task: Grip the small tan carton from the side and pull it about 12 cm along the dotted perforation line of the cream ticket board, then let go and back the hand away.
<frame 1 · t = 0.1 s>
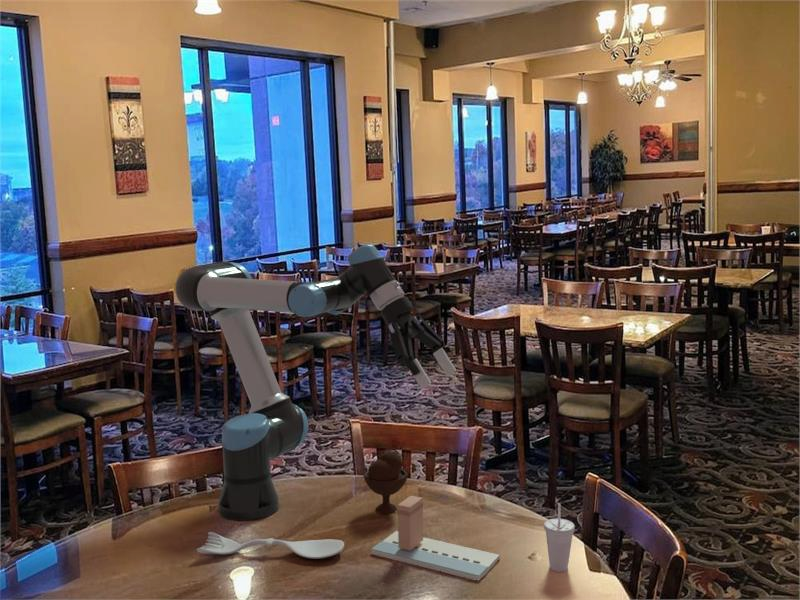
hand: (439, 379, 186), 36 cm above the table, tool tilted 35°, fingers open, 13 cm apart
ticket board: (434, 556, 174), on the table
small tan carton: (410, 522, 176), point 7 cm above the table, slide at 0.0 cm
spoon: (273, 555, 177), on the table
ice cream bowl: (386, 510, 200), on the table
smoothie: (558, 568, 169), on the table
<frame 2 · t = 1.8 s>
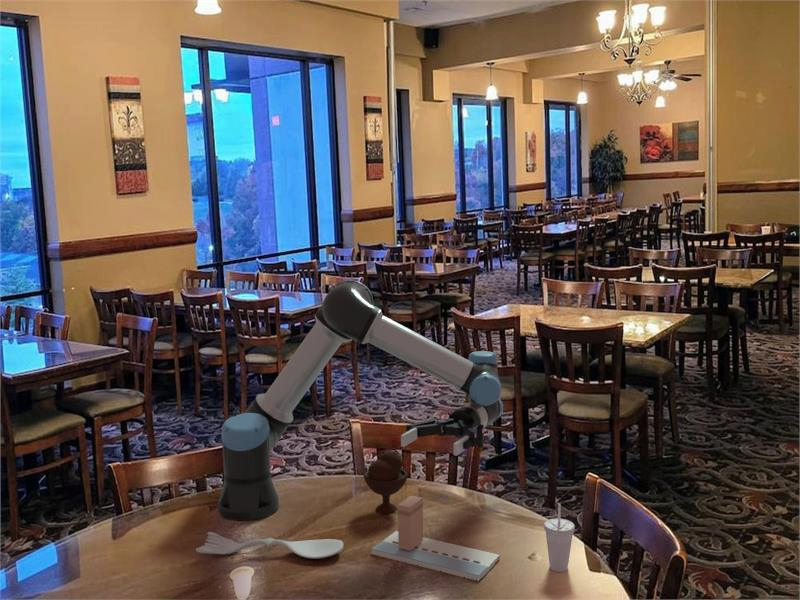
hand: (428, 445, 182), 22 cm above the table, tool horizontal, fingers open, 13 cm apart
nothing on the table moved.
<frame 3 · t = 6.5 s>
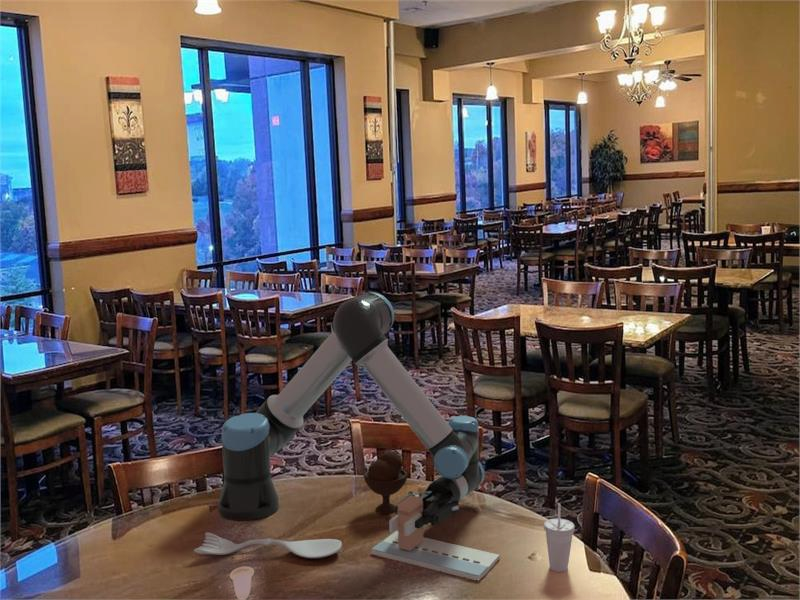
hand: (398, 528, 172), 7 cm above the table, tool horizontal, fingers closed on small tan carton, 3 cm apart
small tan carton: (410, 522, 176), point 7 cm above the table, slide at 0.0 cm, touching gripper
everything else where it was.
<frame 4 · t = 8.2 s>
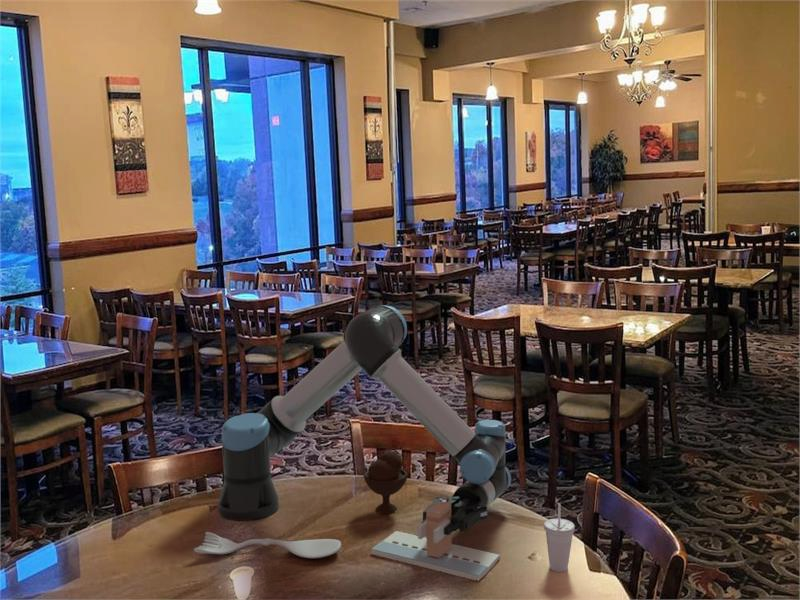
hand: (427, 534, 168), 8 cm above the table, tool horizontal, fingers closed on small tan carton, 3 cm apart
small tan carton: (439, 529, 173), point 7 cm above the table, slide at 7.1 cm, touching gripper
everything else where it was.
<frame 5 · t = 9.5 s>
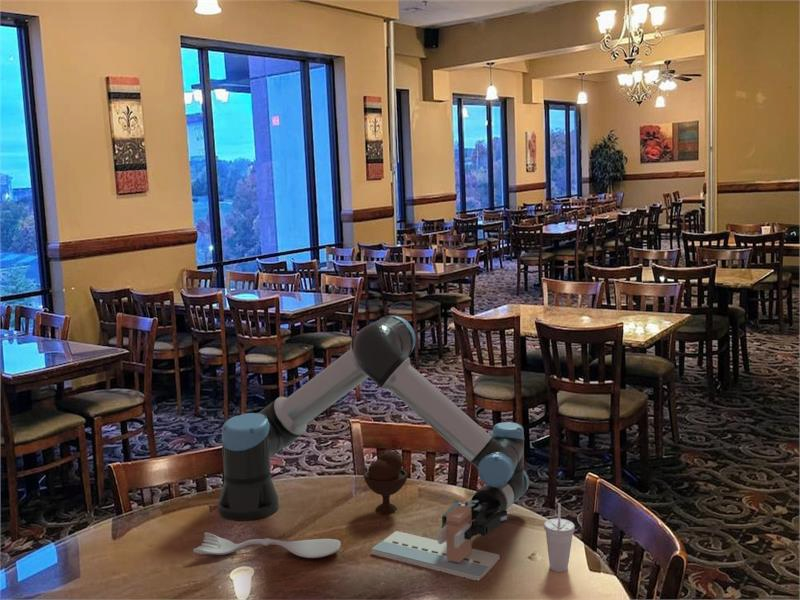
hand: (447, 539, 166), 8 cm above the table, tool horizontal, fingers closed on small tan carton, 3 cm apart
small tan carton: (459, 533, 170), point 7 cm above the table, slide at 11.9 cm, touching gripper
everything else where it was.
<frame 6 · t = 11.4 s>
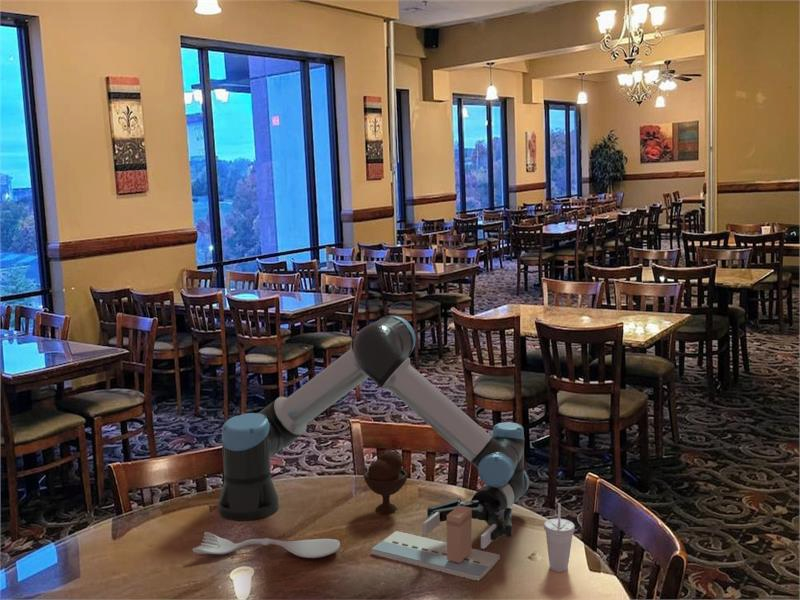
hand: (452, 535, 167), 7 cm above the table, tool horizontal, fingers open, 13 cm apart
small tan carton: (459, 533, 170), point 7 cm above the table, slide at 11.9 cm
everything else where it was.
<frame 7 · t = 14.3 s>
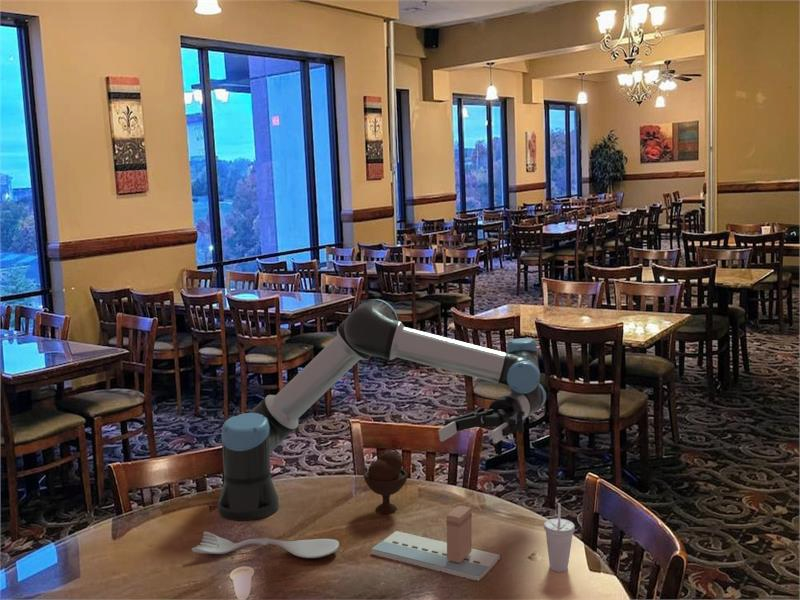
hand: (466, 436, 176), 25 cm above the table, tool horizontal, fingers open, 13 cm apart
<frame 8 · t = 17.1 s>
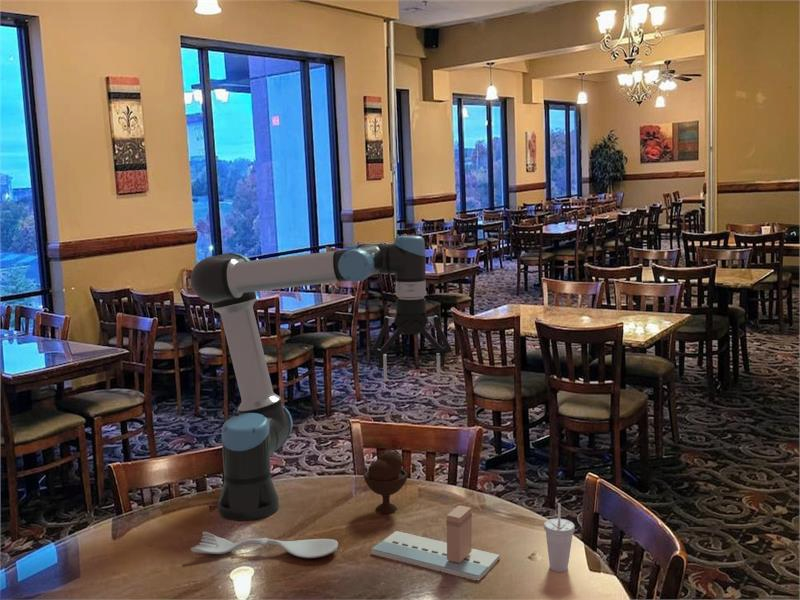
hand: (411, 379, 202), 32 cm above the table, tool pointing down, fingers open, 13 cm apart
at the end: small tan carton slide at 11.9 cm; the gripper is holding nothing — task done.
